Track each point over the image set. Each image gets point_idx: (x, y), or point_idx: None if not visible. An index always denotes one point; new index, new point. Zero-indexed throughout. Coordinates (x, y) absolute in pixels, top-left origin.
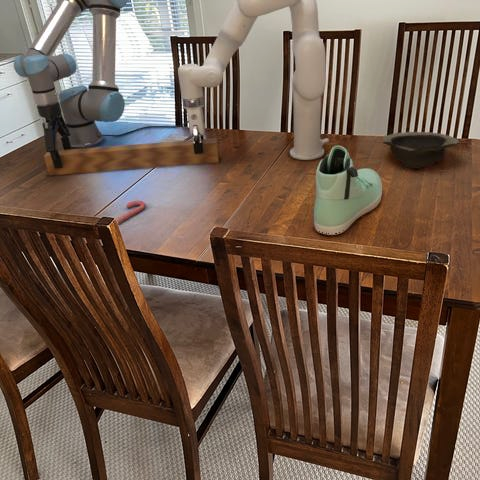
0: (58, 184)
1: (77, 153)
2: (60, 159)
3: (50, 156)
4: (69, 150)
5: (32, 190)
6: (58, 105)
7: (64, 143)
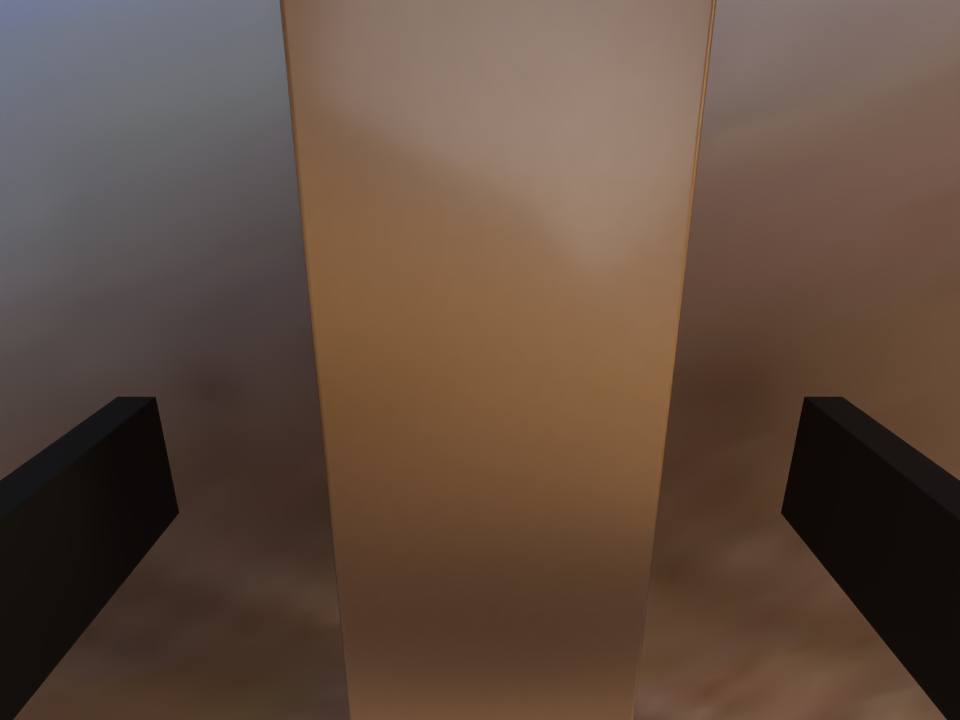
0: (899, 378)
1: (699, 111)
2: (916, 478)
3: (627, 710)
4: (403, 411)
5: None
6: None
7: (26, 637)
